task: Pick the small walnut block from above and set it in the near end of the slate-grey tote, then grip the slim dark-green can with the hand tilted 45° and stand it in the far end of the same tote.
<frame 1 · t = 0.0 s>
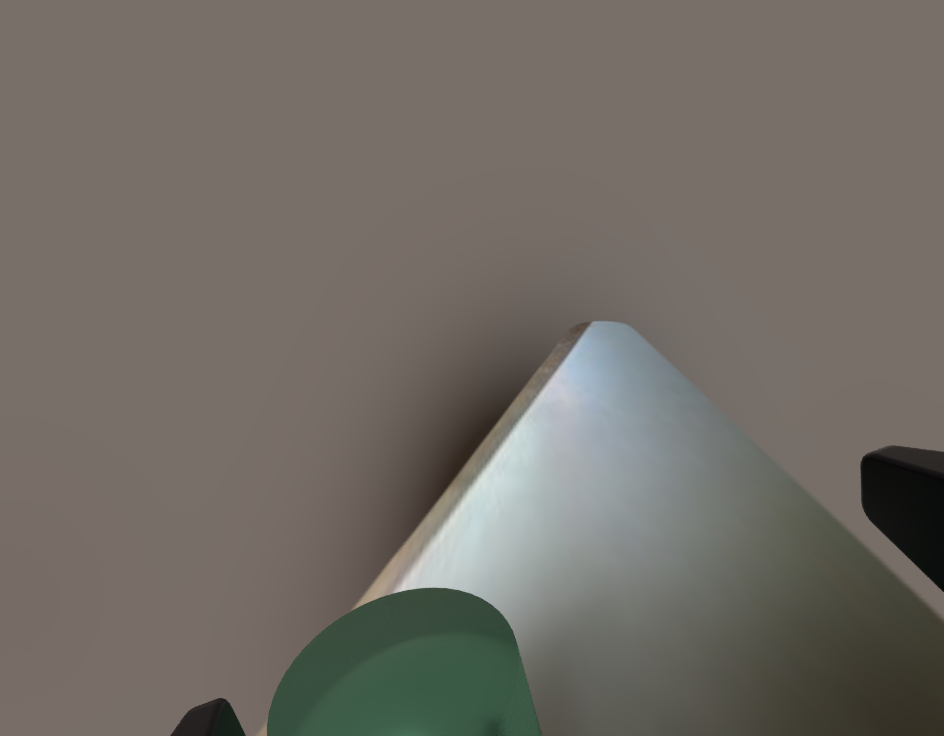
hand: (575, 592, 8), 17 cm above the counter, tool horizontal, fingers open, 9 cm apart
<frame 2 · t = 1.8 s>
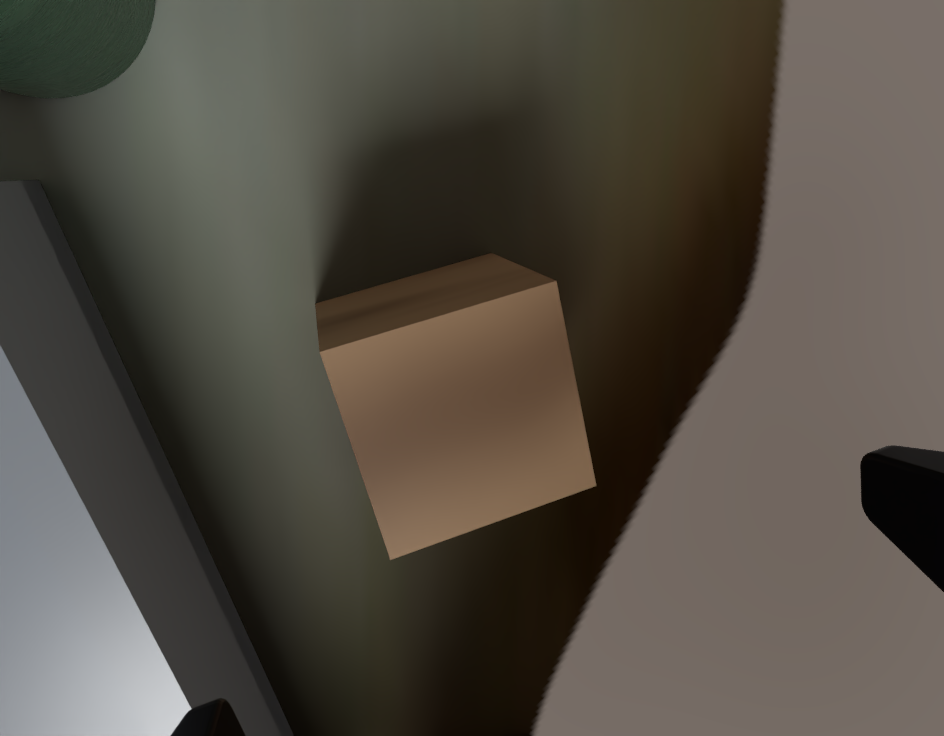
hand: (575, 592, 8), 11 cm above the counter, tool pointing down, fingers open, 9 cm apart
walnut block: (428, 360, 18), on the counter
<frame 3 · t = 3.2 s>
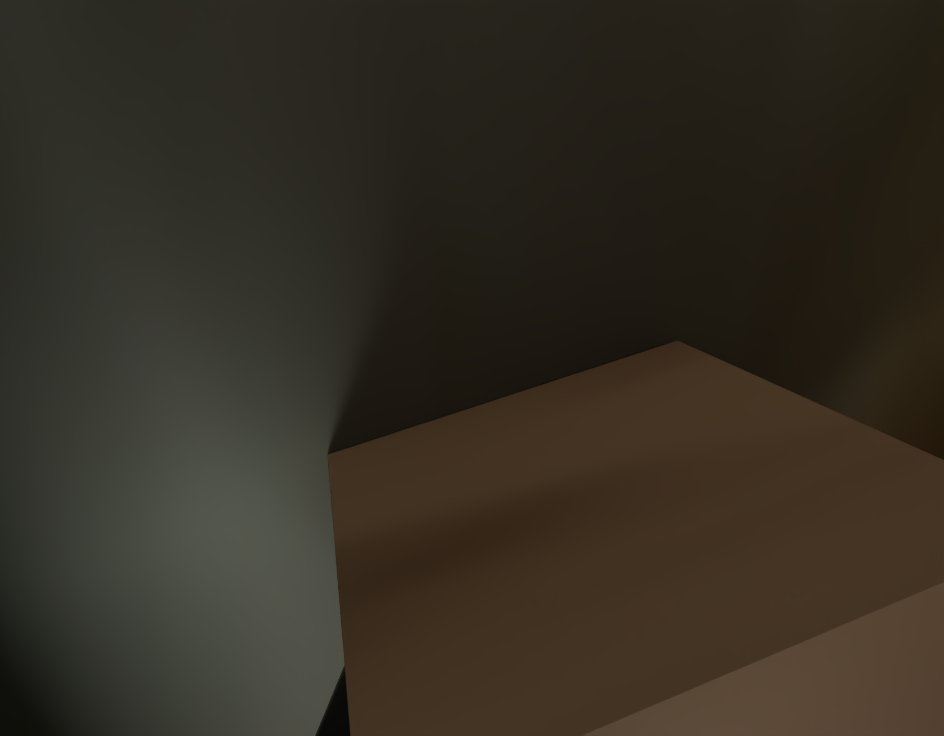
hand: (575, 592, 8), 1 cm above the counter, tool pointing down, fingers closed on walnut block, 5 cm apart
walnut block: (546, 547, 9), on the counter, touching gripper
when the fingers open (3 cm above the counter, at t = 8.0 s): walnut block stays where it is, resting on grey tote.
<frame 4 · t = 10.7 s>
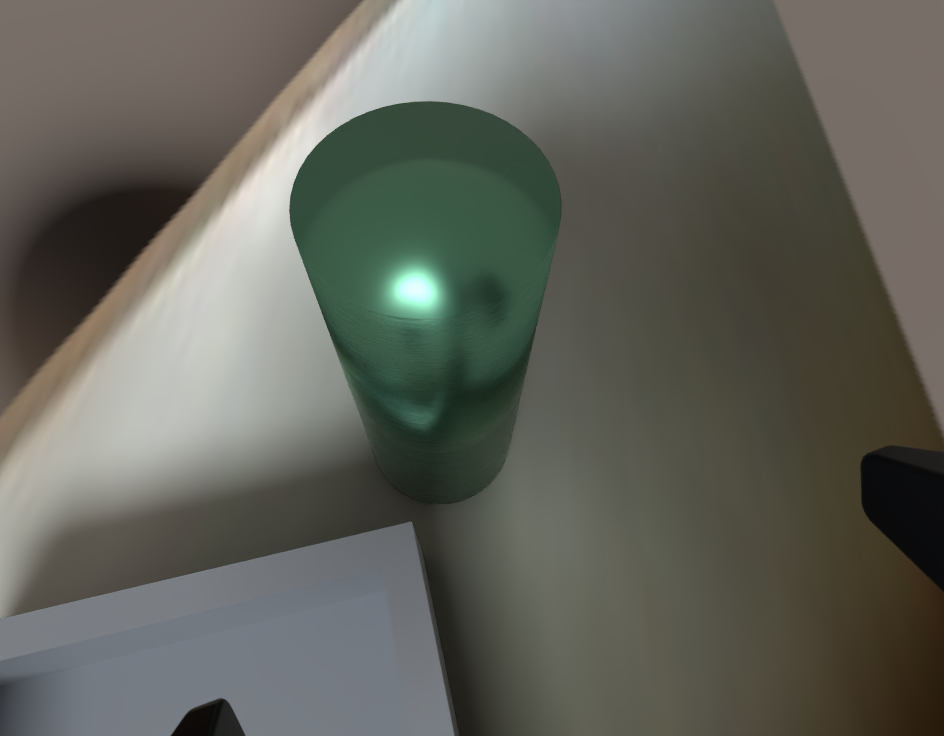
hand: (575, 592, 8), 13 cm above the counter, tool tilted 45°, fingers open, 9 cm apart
green can: (441, 436, 23), on the counter
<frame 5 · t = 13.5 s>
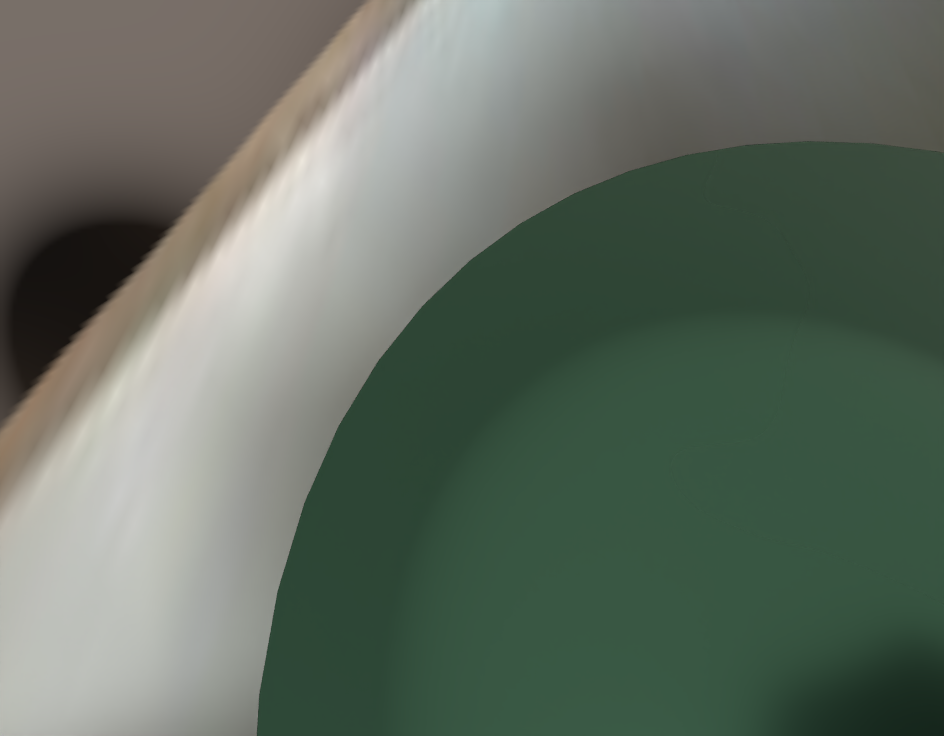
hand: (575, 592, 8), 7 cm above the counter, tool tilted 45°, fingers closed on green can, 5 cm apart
green can: (553, 696, 14), on the counter, touching gripper
when the fingers open (9 cm above the counter, at t = 17.3 s): green can drops 1 cm, resting on grey tote.
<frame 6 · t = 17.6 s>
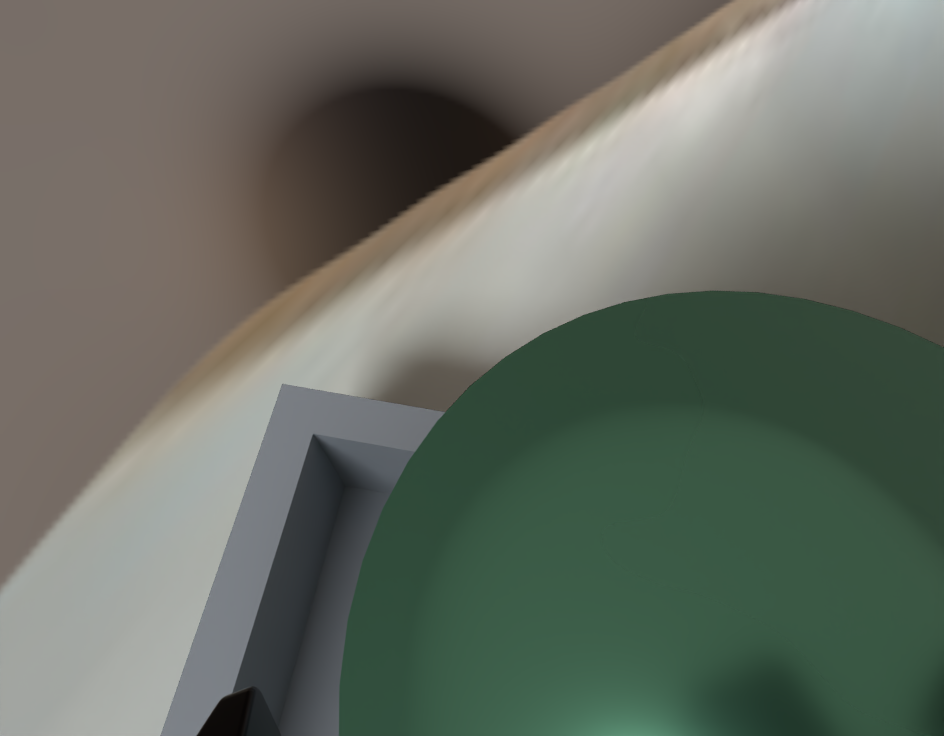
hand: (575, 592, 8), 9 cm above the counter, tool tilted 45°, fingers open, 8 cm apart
green can: (548, 696, 15), point 1 cm above the counter, touching grey tote
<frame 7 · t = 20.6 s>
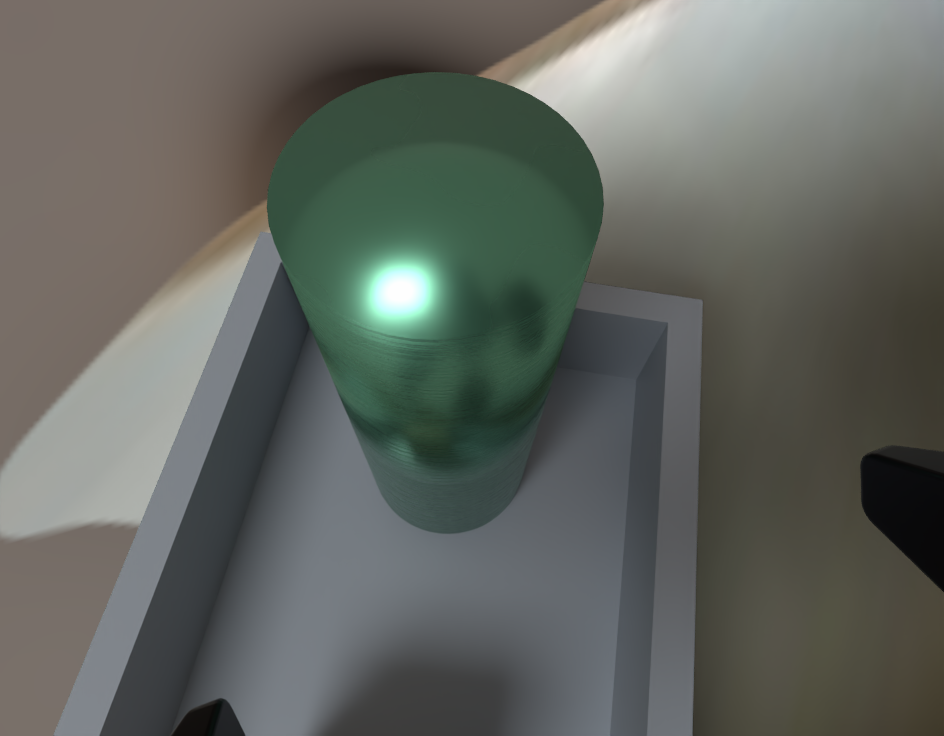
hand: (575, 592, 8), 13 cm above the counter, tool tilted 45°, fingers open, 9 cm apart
green can: (448, 457, 21), point 1 cm above the counter, touching grey tote
grey tote: (410, 651, 20), on the counter
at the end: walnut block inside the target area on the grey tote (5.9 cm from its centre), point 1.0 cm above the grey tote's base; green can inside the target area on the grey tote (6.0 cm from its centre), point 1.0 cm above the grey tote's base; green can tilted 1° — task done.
